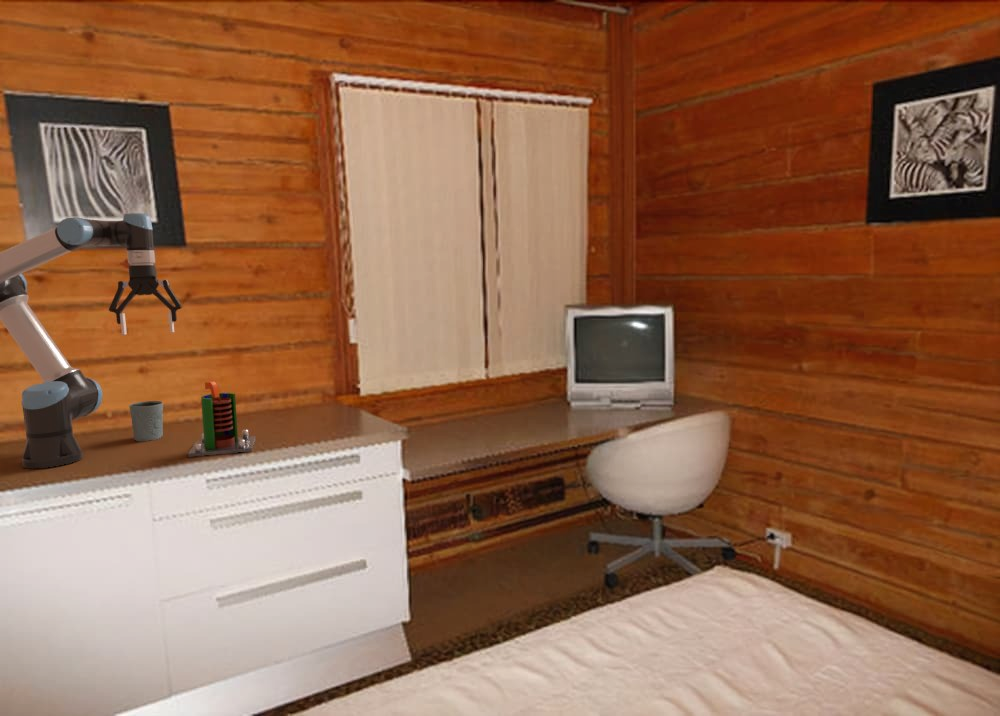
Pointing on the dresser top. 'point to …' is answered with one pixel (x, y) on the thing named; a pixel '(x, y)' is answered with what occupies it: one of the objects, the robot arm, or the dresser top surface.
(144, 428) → the grey embossed cup
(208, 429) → the motor
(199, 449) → the mounting plate
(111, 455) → the dresser top surface
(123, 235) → the robot arm
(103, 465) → the dresser top surface
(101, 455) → the dresser top surface
